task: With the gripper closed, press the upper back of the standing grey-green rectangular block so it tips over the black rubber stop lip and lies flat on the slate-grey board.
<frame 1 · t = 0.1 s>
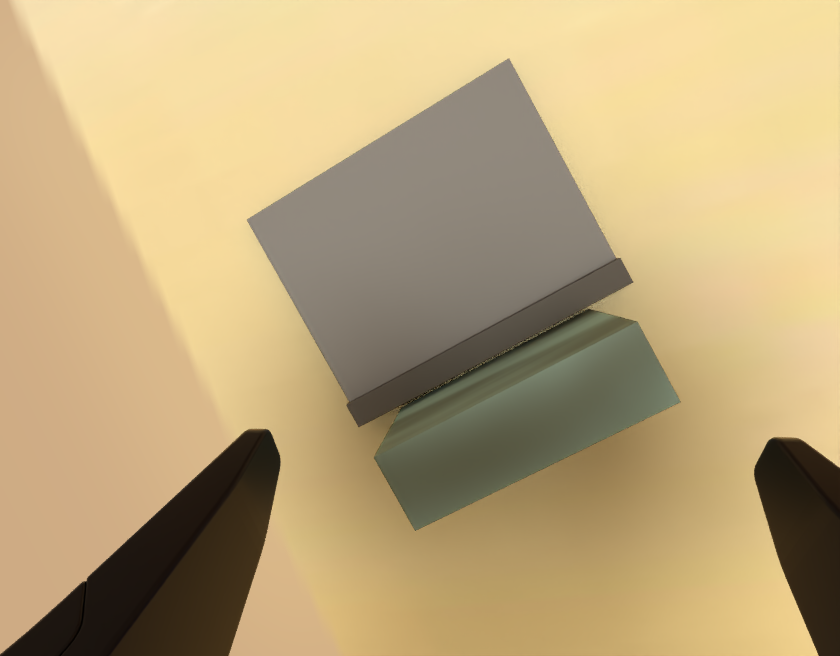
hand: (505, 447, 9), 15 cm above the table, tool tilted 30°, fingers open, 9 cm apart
slate board: (426, 239, 24), on the table
grey-green rectangular block: (507, 387, 24), on the table
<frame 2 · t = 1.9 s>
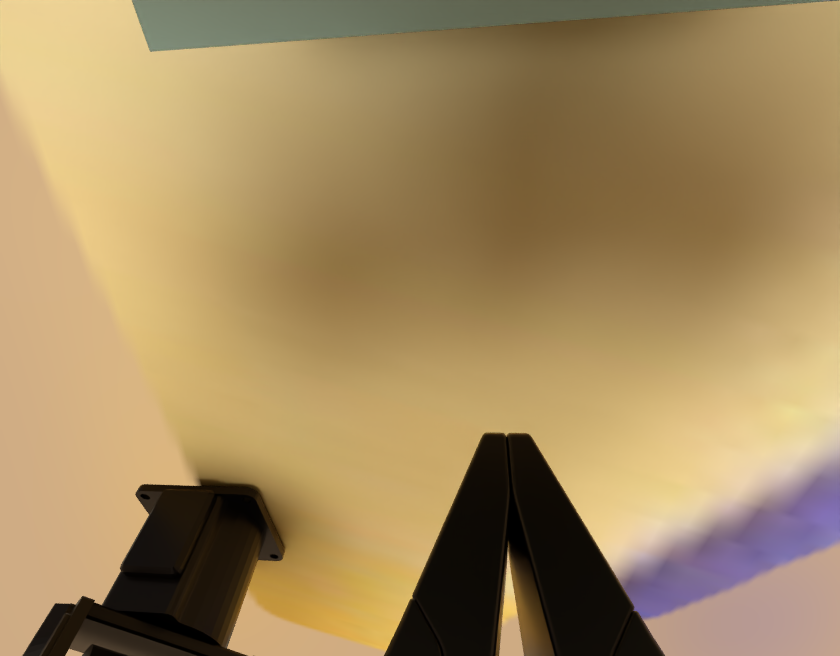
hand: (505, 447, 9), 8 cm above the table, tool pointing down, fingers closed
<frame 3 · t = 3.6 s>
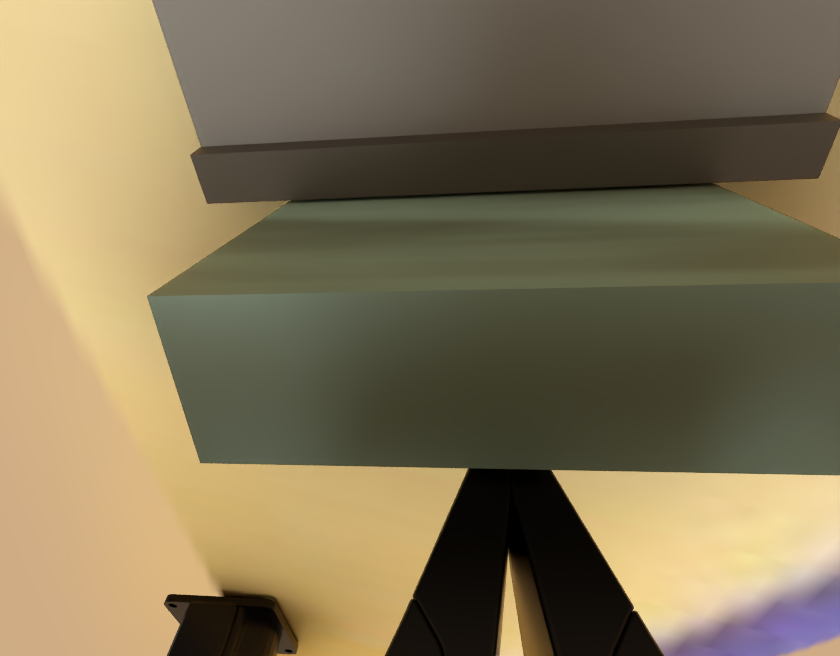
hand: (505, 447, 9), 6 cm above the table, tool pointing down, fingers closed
grey-green rectangular block: (490, 243, 13), on the table, tilted 11°
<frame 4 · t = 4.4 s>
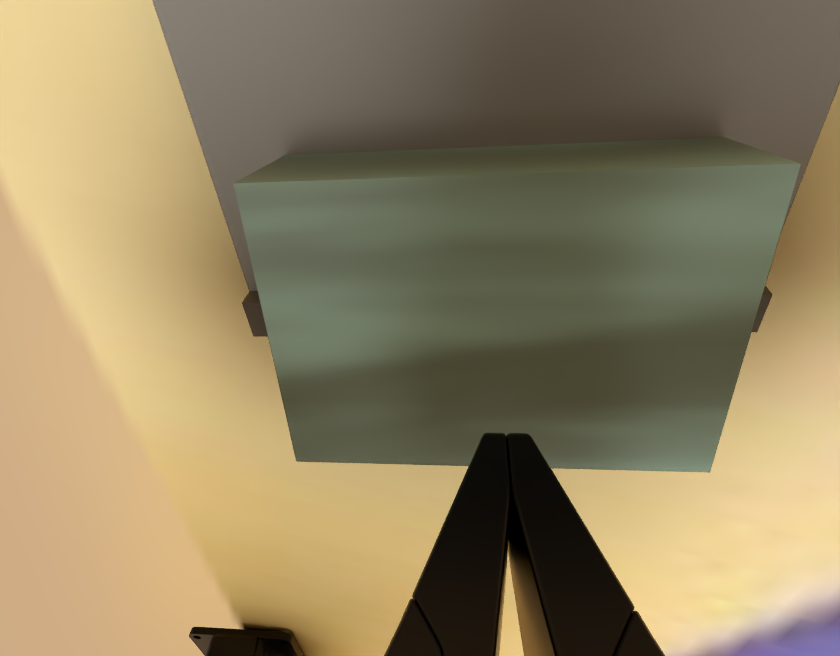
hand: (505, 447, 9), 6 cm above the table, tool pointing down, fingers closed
slate board: (492, 88, 11), on the table
grey-green rectangular block: (492, 426, 14), point 3 cm above the table, tilted 99°, touching slate board
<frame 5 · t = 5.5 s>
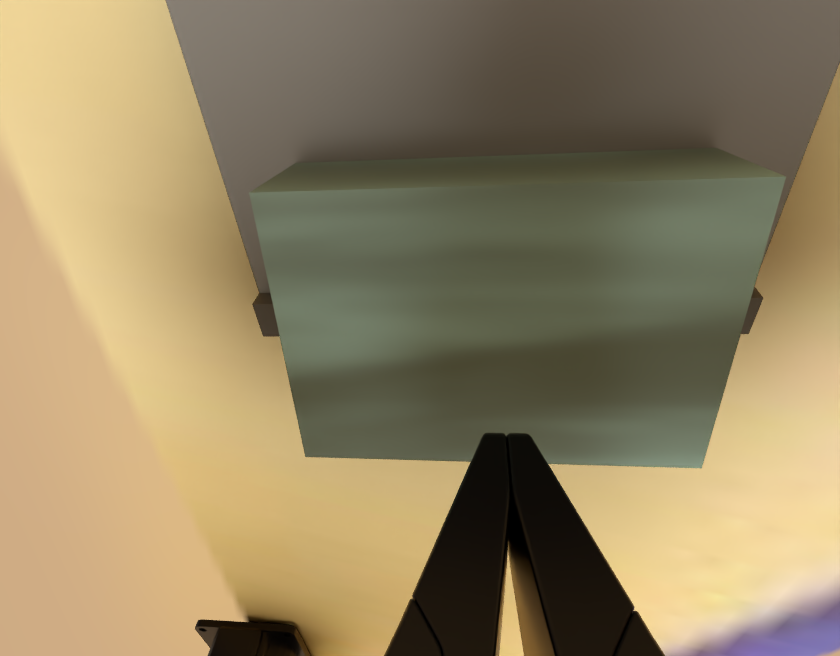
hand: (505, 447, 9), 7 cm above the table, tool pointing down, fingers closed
slate board: (495, 100, 12), on the table
grey-green rectangular block: (493, 424, 14), point 3 cm above the table, tilted 99°, touching slate board
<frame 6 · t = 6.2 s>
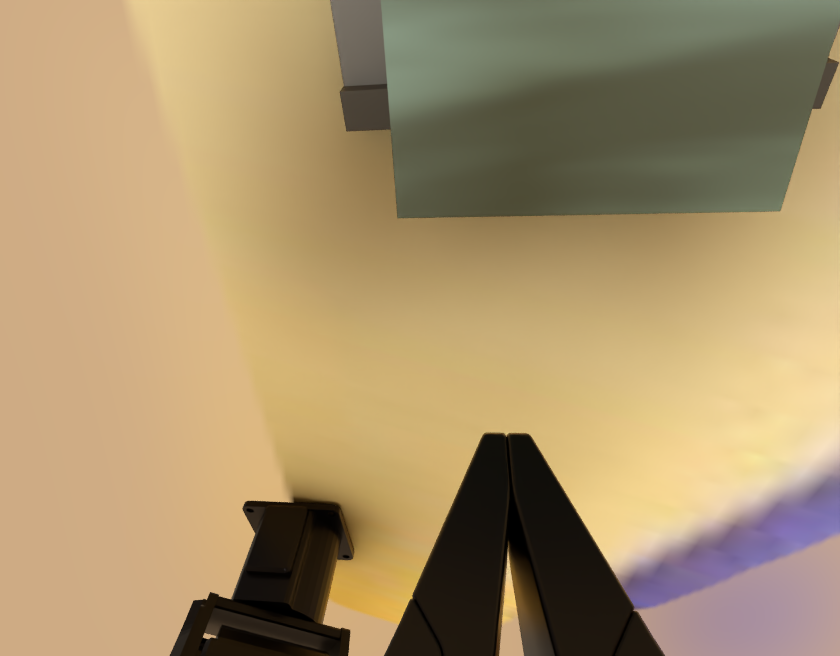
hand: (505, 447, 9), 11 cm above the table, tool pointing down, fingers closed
grey-green rectangular block: (572, 198, 15), point 3 cm above the table, tilted 99°, touching slate board
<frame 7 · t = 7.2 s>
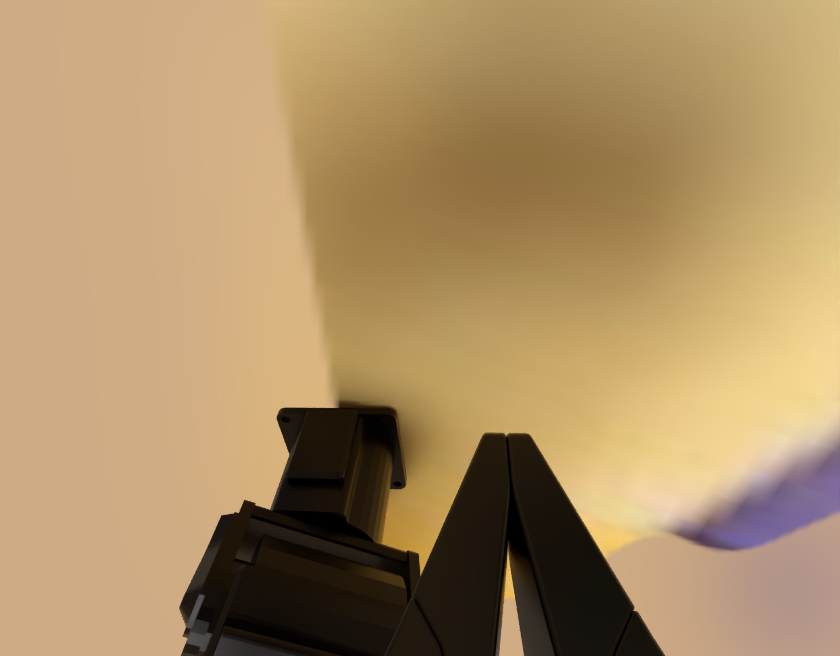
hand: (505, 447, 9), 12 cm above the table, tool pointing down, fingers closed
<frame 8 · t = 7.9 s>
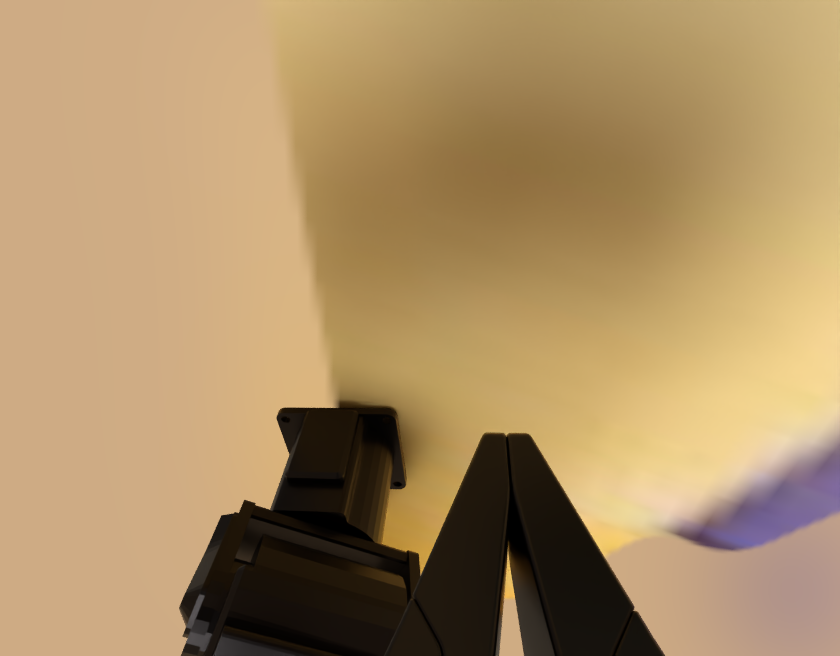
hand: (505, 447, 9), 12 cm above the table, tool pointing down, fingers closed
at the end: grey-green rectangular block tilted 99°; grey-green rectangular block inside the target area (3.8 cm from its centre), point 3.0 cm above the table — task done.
